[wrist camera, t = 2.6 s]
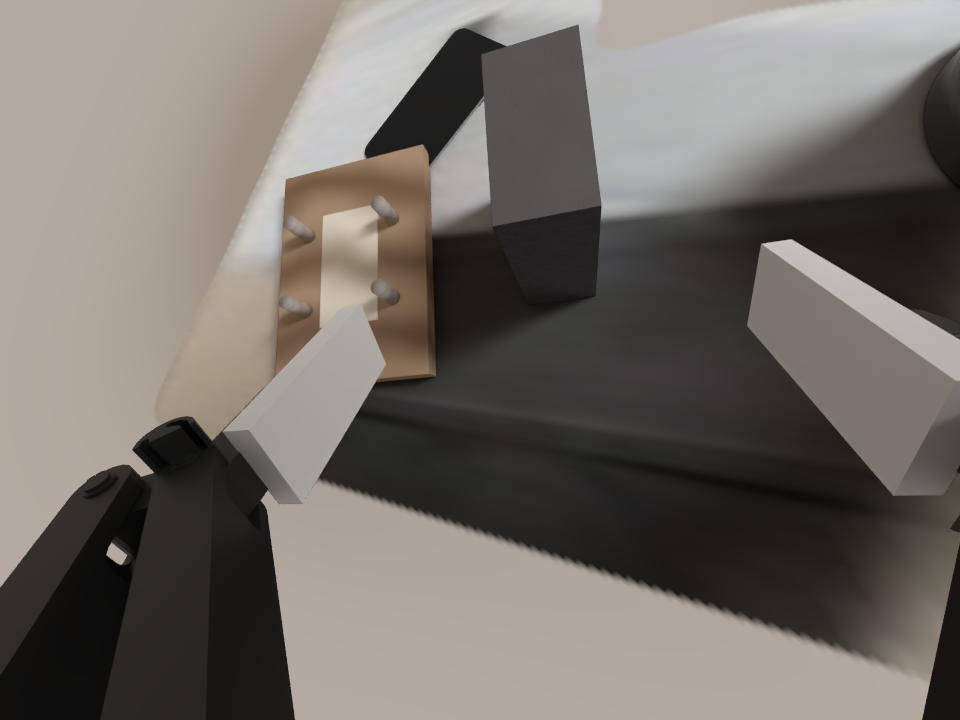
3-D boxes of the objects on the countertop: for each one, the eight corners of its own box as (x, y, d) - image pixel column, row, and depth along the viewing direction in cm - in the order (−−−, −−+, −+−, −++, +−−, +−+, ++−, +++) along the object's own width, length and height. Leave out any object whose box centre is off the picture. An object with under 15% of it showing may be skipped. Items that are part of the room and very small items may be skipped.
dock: (436, 376, 31) (415, 368, 27) (287, 390, 34) (250, 385, 30) (429, 156, 35) (410, 122, 31) (297, 188, 38) (265, 161, 34)
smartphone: (360, 152, 37) (458, 24, 36) (364, 157, 37) (461, 31, 37) (412, 187, 34) (518, 51, 34) (415, 192, 35) (519, 58, 34)
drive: (595, 296, 29) (601, 205, 17) (526, 305, 30) (490, 226, 19) (581, 176, 31) (578, 24, 19) (517, 189, 32) (479, 54, 21)
